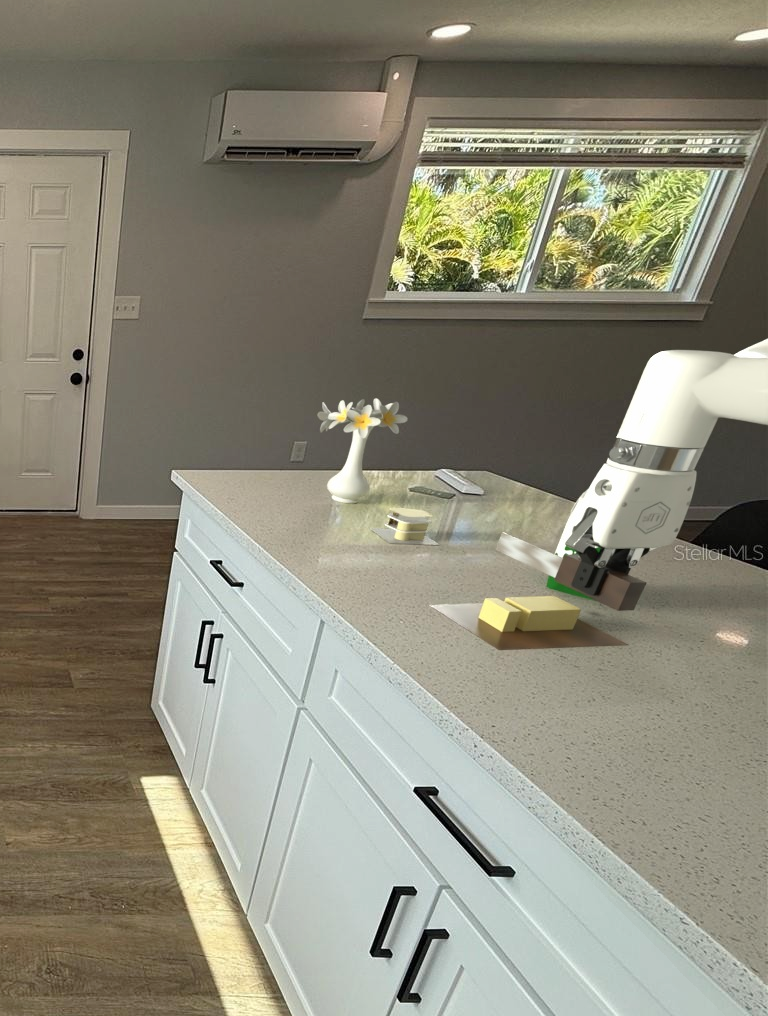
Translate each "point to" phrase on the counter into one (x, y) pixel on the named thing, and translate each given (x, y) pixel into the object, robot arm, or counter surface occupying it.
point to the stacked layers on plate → (406, 527)
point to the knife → (615, 588)
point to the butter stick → (544, 613)
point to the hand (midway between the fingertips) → (594, 589)
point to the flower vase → (357, 443)
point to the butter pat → (499, 614)
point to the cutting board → (525, 639)
